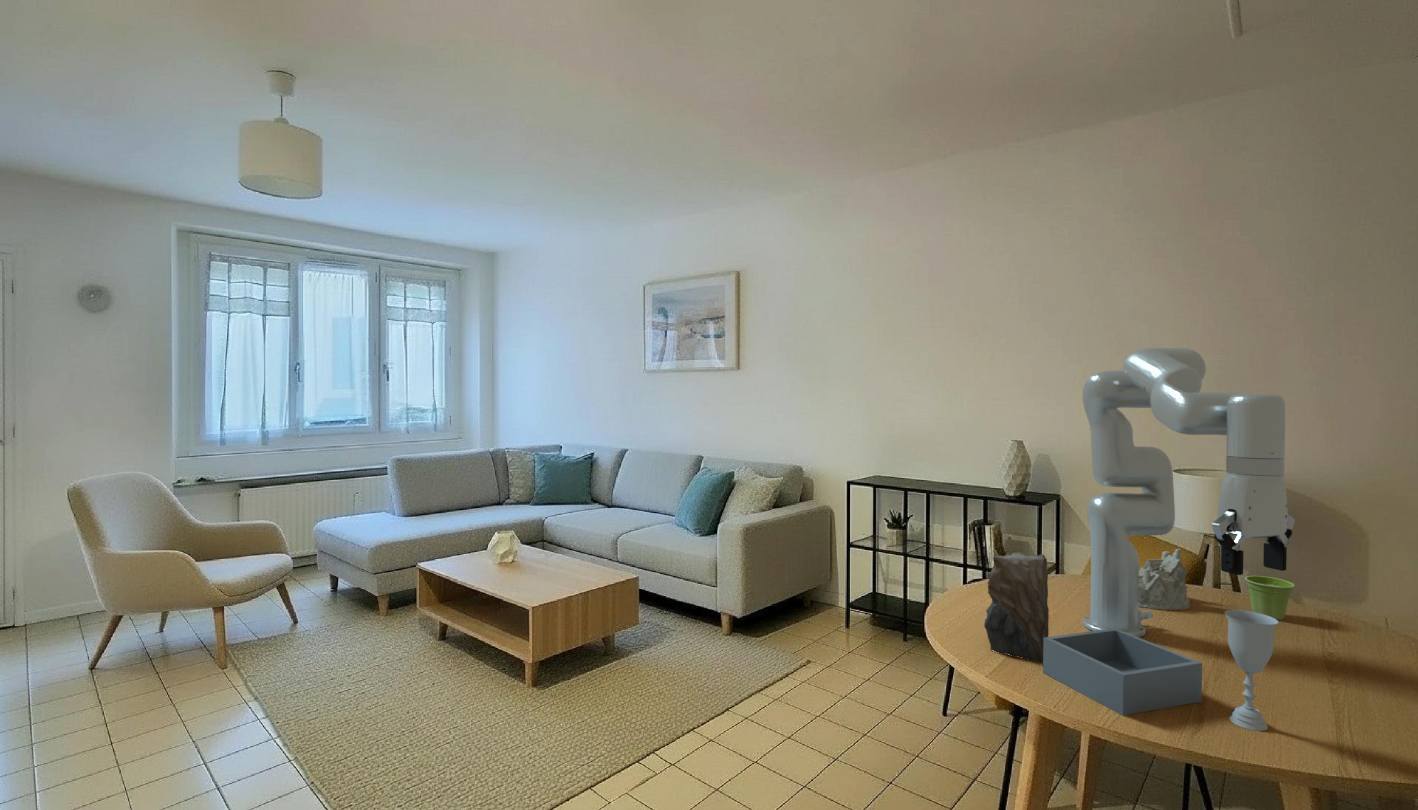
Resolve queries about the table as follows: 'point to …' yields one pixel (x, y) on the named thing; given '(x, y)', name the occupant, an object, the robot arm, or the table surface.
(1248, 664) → the chalice
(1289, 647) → the table surface
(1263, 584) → the plant pot
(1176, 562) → the ceramic cottage
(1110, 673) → the bin
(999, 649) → the grey faceted rock
